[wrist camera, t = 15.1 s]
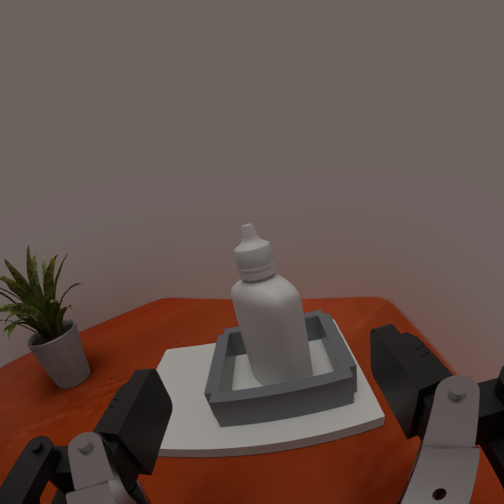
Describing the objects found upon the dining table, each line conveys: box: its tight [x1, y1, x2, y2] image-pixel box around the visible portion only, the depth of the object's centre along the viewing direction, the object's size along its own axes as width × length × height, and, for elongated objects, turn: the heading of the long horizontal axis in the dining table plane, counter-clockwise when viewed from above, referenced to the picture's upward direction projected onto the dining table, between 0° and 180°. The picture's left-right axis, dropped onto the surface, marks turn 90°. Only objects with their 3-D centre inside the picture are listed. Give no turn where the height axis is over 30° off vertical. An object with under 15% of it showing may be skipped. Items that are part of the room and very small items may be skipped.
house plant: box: [0, 247, 90, 389], centre depth 24 cm, size 14×14×16 cm
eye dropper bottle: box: [231, 224, 313, 386], centre depth 19 cm, size 4×6×12 cm
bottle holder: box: [156, 310, 385, 457], centre depth 21 cm, size 18×14×4 cm
